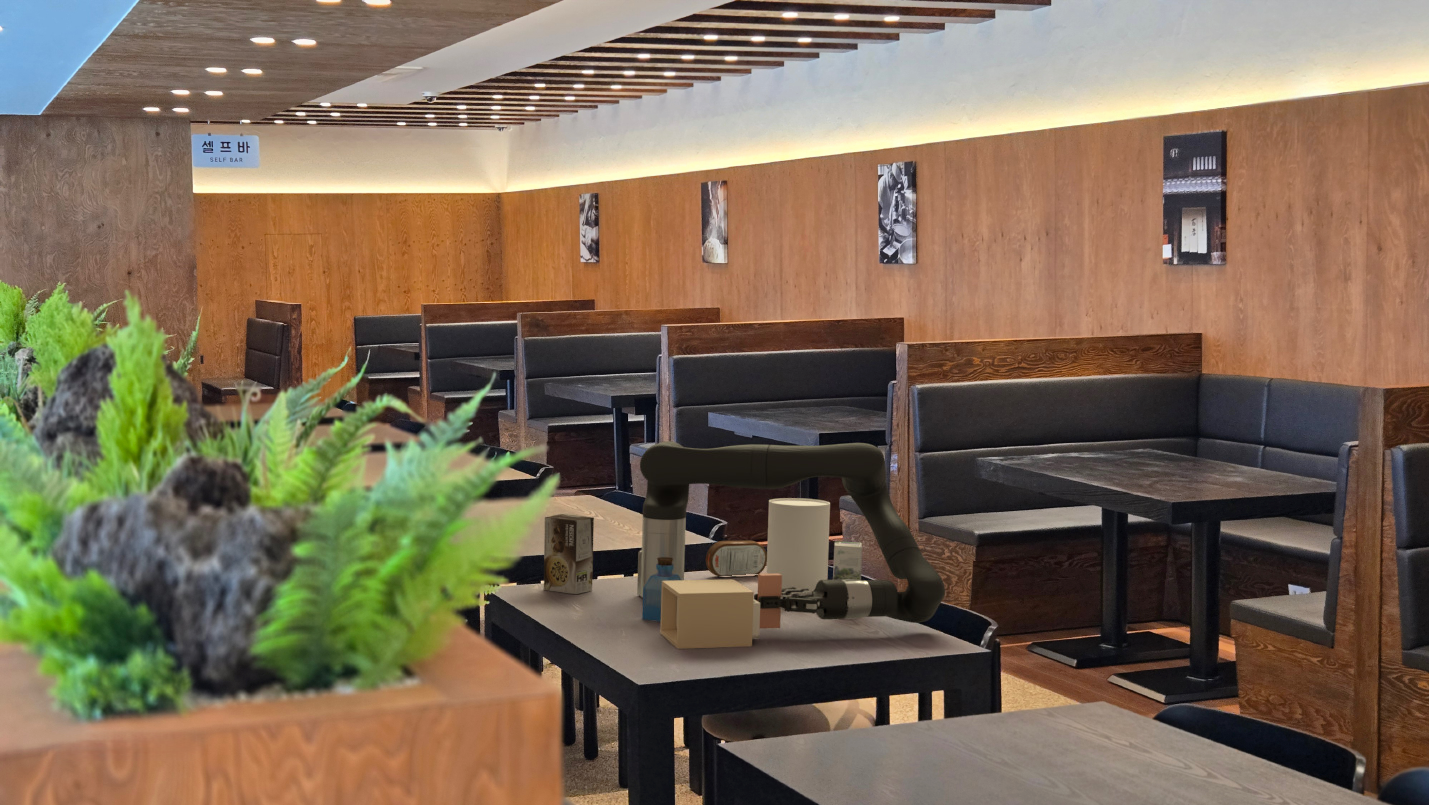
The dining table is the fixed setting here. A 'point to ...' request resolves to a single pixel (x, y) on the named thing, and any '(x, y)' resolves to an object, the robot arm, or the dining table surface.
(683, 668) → the dining table surface
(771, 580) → the tray
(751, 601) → the mailer sleeve
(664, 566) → the perfume bottle
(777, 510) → the canister
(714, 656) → the dining table surface
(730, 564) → the tin
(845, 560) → the syrup box
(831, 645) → the dining table surface
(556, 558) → the coffee box
